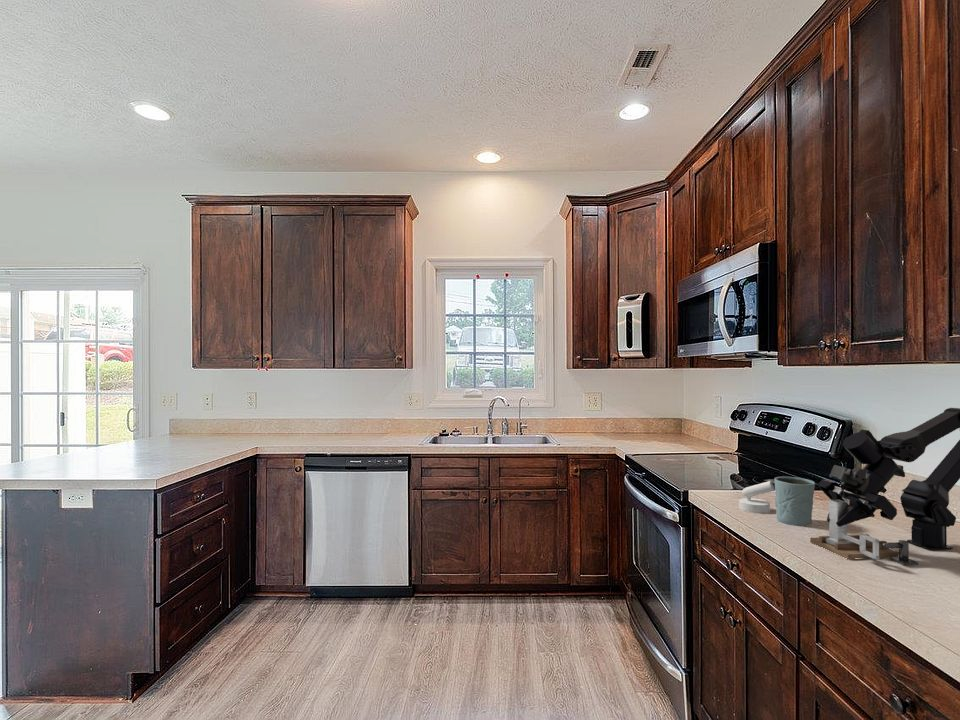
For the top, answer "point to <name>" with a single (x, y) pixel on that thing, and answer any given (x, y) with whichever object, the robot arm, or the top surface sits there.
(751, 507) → the wall hook
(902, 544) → the keeper hook
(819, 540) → the track board
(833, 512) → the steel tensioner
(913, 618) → the top surface
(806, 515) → the green embossed cup
